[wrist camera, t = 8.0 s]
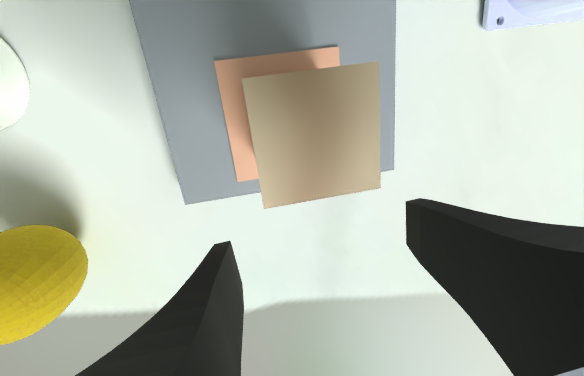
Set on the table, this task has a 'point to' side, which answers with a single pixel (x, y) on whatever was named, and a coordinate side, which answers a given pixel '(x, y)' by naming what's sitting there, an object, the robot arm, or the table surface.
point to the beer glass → (12, 86)
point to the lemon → (37, 277)
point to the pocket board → (250, 74)
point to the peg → (315, 132)
